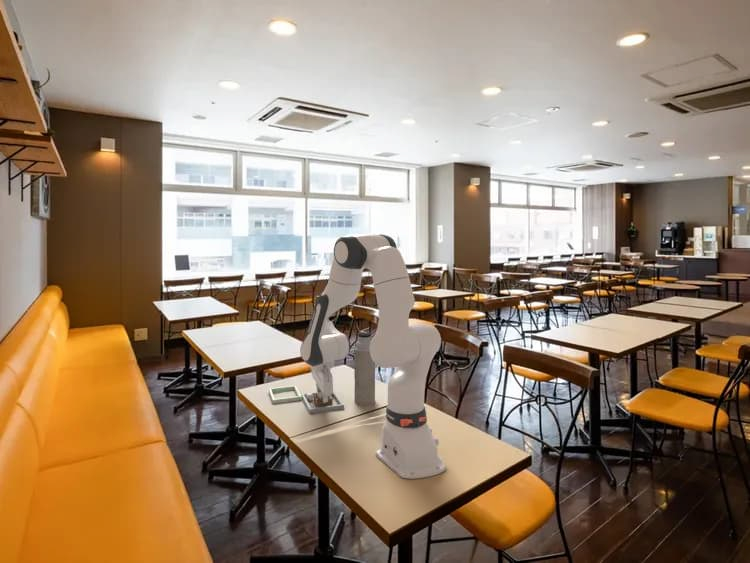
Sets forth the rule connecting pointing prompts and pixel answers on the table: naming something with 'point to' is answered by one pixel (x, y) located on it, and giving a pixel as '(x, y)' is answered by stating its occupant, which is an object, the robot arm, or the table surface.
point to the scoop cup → (321, 404)
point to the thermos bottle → (364, 371)
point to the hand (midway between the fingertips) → (322, 397)
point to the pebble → (309, 397)
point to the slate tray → (326, 408)
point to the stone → (320, 395)
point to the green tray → (281, 390)
